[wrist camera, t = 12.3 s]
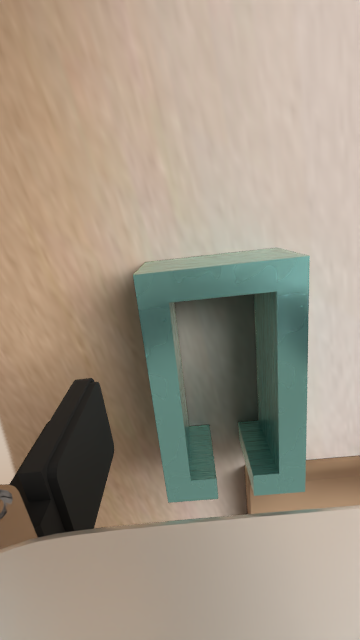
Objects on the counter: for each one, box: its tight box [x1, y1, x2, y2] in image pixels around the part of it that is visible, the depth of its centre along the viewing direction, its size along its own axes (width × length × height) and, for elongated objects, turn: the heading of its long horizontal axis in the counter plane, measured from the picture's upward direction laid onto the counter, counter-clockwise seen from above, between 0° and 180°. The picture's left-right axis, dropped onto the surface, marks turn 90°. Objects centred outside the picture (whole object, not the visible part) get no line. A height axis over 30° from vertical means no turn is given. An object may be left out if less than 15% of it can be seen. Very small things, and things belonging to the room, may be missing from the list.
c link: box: [133, 248, 309, 503], centre depth 15 cm, size 11×6×4 cm, turn 6°
